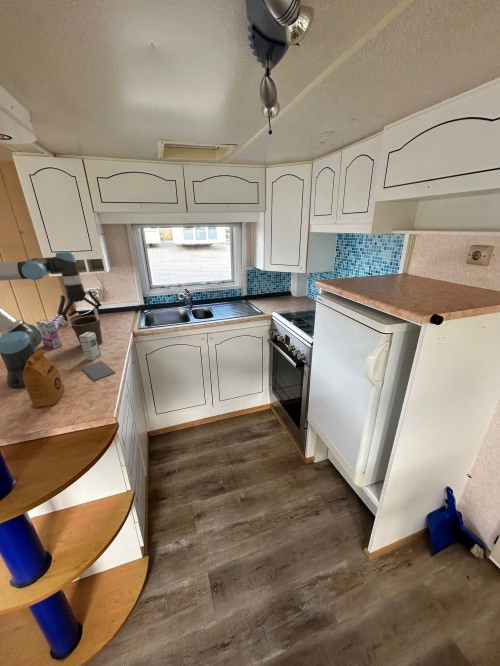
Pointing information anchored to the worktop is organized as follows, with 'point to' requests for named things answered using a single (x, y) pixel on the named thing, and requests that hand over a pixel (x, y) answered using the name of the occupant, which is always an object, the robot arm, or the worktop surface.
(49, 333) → the candy bar box
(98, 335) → the plant pot
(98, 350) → the syrup box
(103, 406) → the worktop surface
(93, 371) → the rubber mat
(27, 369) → the coffee package
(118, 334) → the worktop surface
